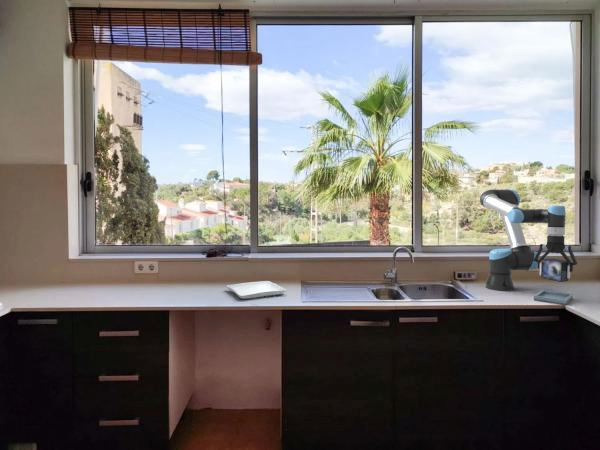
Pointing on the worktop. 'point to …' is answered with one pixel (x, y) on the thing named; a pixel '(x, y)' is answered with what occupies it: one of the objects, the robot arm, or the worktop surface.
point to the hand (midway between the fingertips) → (554, 276)
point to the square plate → (256, 289)
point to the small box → (554, 270)
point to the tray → (553, 297)
